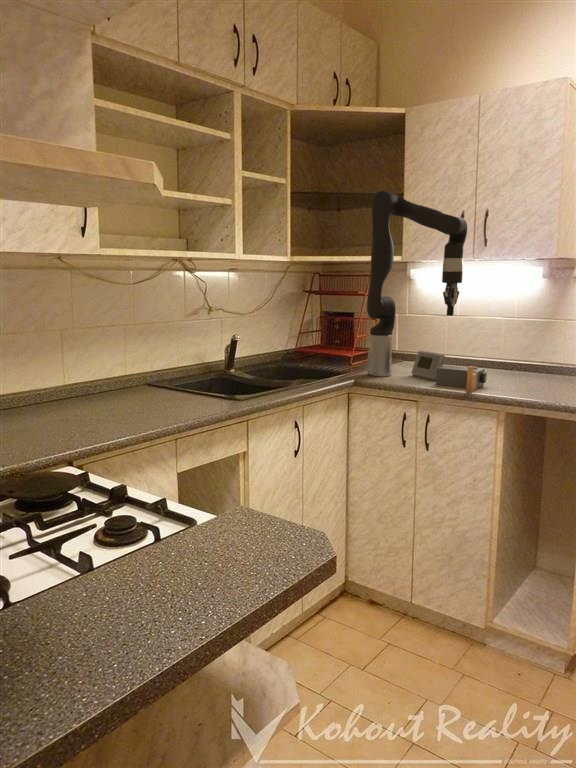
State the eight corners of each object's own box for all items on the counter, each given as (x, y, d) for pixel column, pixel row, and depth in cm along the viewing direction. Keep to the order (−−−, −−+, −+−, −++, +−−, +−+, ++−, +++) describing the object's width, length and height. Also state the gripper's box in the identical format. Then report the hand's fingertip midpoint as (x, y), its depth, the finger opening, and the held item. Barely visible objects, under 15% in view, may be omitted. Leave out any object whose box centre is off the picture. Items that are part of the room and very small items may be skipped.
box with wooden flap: (435, 384, 235) (436, 366, 234) (443, 381, 243) (444, 363, 241) (481, 389, 226) (482, 370, 225) (487, 385, 233) (488, 367, 232)
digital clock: (409, 375, 258) (410, 350, 256) (428, 374, 261) (429, 349, 259) (427, 381, 243) (429, 355, 241) (448, 380, 245) (449, 354, 243)
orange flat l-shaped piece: (471, 393, 218) (472, 367, 216) (465, 392, 219) (467, 366, 217) (478, 388, 226) (479, 363, 225) (472, 388, 227) (474, 363, 226)
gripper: (448, 270, 239) (446, 314, 243) (437, 270, 228) (434, 316, 232) (467, 270, 235) (464, 315, 239) (456, 270, 224) (454, 317, 228)
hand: (450, 315), depth 235 cm, fingers closed
